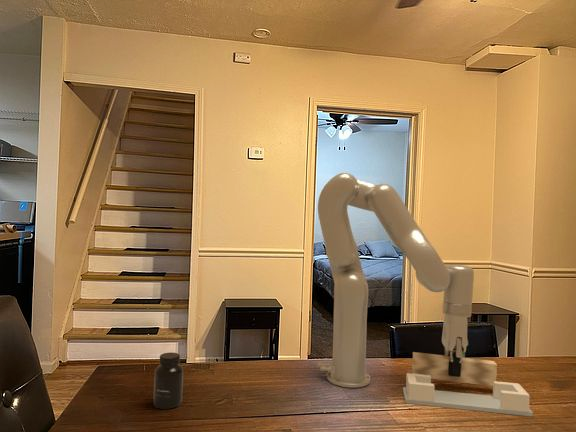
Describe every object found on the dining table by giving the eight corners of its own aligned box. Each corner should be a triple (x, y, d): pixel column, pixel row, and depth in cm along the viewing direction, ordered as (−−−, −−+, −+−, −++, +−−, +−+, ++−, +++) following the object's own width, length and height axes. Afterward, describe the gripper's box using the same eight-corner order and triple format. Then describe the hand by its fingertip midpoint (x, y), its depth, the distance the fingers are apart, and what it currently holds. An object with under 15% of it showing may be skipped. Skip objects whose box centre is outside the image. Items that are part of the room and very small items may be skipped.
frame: (405, 403, 107) (406, 383, 107) (402, 390, 115) (403, 372, 115) (533, 416, 102) (533, 396, 102) (521, 402, 110) (521, 383, 110)
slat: (412, 376, 119) (414, 355, 119) (411, 372, 122) (413, 352, 122) (495, 386, 115) (497, 364, 115) (492, 382, 118) (493, 361, 118)
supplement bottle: (156, 412, 99) (157, 361, 99) (151, 400, 105) (152, 352, 105) (185, 407, 102) (186, 357, 102) (178, 396, 108) (180, 349, 108)
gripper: (438, 301, 127) (434, 362, 127) (448, 313, 111) (444, 382, 111) (464, 304, 126) (460, 365, 126) (478, 316, 110) (474, 386, 110)
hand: (452, 372), depth 119 cm, fingers closed on slat, 3 cm apart
